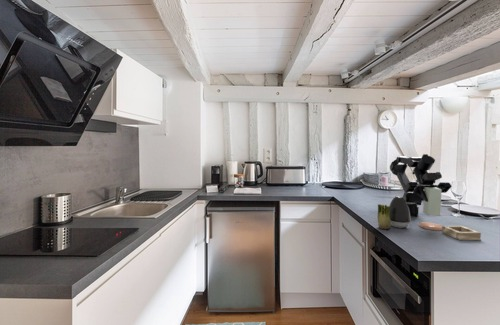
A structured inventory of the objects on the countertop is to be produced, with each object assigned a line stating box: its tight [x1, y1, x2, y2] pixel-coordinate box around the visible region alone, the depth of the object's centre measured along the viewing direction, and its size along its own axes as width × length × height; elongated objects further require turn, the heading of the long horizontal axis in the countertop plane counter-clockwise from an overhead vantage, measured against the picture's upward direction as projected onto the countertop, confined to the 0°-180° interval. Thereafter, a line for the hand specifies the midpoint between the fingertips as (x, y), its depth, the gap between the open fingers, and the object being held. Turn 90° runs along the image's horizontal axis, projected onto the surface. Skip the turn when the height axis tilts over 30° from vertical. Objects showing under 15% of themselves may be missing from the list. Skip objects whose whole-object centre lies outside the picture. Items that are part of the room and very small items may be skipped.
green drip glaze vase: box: [377, 203, 391, 230], centre depth 114 cm, size 6×5×12 cm
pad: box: [418, 221, 443, 232], centre depth 115 cm, size 10×10×1 cm
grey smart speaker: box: [388, 195, 412, 229], centre depth 117 cm, size 10×10×15 cm
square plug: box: [422, 187, 442, 217], centre depth 115 cm, size 5×5×13 cm
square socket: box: [441, 225, 482, 241], centre depth 104 cm, size 9×9×3 cm
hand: (433, 201), depth 113 cm, fingers closed on square plug, 5 cm apart
